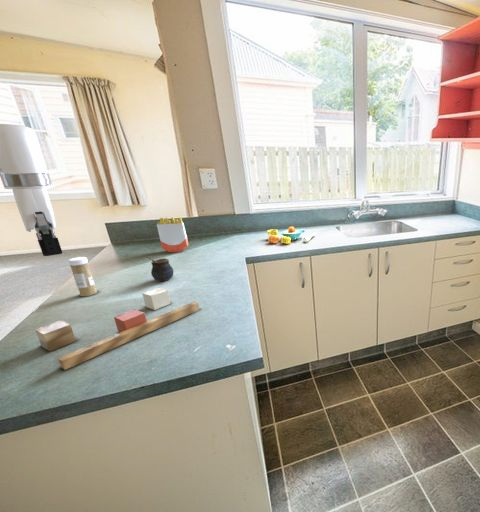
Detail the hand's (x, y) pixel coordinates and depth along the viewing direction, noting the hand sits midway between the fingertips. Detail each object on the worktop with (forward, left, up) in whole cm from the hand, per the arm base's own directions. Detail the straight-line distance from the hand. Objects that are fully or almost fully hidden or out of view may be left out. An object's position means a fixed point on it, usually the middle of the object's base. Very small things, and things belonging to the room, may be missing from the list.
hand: (51, 250), depth 75 cm
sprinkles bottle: (+13, +29, -24) cm, 40 cm away
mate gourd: (+33, +20, -24) cm, 46 cm away
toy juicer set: (+103, +16, -24) cm, 107 cm away
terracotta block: (+7, -12, -24) cm, 28 cm away
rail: (+7, -16, -24) cm, 29 cm away
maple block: (-5, -2, -24) cm, 24 cm away
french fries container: (+59, +55, -24) cm, 85 cm away
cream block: (+19, -2, -24) cm, 31 cm away
